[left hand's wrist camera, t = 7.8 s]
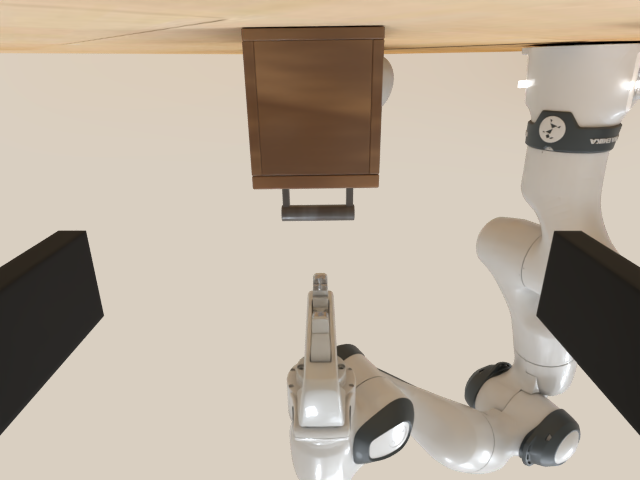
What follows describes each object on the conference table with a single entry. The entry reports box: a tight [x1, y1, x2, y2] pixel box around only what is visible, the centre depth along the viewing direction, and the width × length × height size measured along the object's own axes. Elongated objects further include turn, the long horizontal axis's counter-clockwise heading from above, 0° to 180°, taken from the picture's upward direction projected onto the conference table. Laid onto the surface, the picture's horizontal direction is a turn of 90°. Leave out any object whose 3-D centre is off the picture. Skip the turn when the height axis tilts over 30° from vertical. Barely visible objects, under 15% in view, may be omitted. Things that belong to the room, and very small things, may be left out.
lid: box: [252, 174, 379, 221], centre depth 40 cm, size 18×9×9 cm, turn 0°
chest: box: [241, 27, 385, 176], centre depth 37 cm, size 17×9×9 cm, turn 0°
